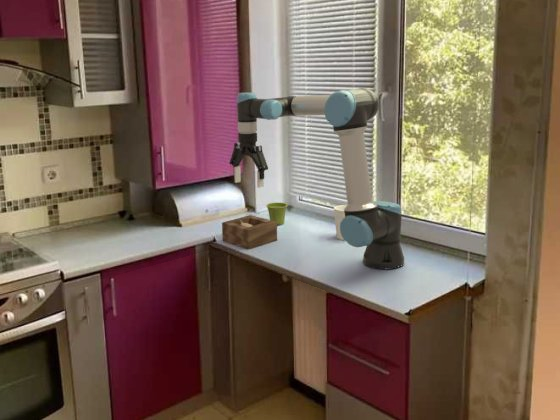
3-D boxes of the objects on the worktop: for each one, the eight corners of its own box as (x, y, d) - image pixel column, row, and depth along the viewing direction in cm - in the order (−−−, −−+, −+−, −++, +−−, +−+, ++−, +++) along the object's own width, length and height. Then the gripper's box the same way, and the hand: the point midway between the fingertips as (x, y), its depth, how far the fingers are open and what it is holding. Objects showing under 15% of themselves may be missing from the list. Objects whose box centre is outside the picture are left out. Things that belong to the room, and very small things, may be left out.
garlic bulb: (245, 235, 272) (244, 216, 270) (258, 237, 269) (257, 218, 267) (236, 239, 266) (236, 220, 264) (249, 241, 263) (249, 222, 261)
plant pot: (280, 227, 286) (280, 208, 284) (262, 224, 291) (262, 205, 288) (291, 222, 294) (291, 204, 291) (273, 219, 298) (273, 201, 296)
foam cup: (355, 234, 274) (356, 205, 271) (356, 241, 265) (356, 211, 262) (333, 234, 275) (333, 204, 272) (333, 241, 266) (333, 210, 263)
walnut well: (277, 240, 268) (276, 222, 266) (248, 249, 257) (248, 230, 255) (250, 232, 279) (250, 214, 276) (222, 241, 268) (221, 222, 265)
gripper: (276, 134, 250) (277, 187, 255) (233, 128, 267) (235, 178, 272) (262, 136, 245) (263, 190, 250) (219, 130, 262) (221, 181, 267)
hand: (248, 184), depth 261 cm, fingers open, 13 cm apart
